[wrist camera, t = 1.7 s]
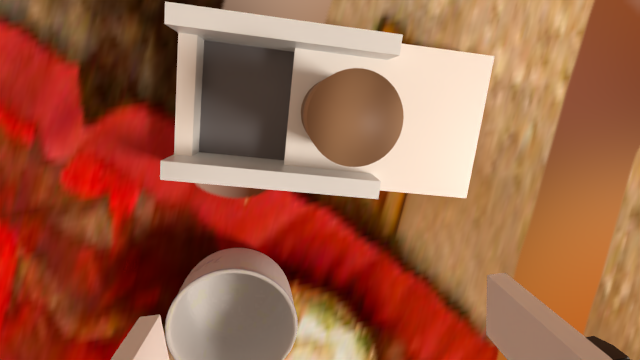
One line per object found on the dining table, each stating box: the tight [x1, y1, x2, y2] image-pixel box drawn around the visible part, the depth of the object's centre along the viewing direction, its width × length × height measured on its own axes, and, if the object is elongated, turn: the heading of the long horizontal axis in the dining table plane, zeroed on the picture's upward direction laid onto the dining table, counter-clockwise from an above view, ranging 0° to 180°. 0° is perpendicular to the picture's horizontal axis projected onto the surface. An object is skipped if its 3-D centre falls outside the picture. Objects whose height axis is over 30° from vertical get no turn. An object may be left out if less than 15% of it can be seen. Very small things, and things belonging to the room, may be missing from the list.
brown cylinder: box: [301, 68, 404, 167], centre depth 28 cm, size 6×6×10 cm
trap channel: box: [160, 2, 494, 199], centre depth 32 cm, size 27×13×6 cm, turn 83°
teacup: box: [165, 248, 297, 360], centre depth 35 cm, size 14×11×8 cm
